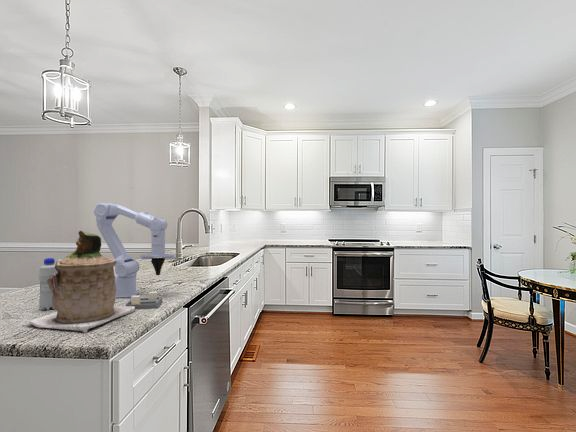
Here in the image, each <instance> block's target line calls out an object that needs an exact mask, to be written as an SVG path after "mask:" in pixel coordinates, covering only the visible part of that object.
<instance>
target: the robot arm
mask: <svg viewBox="0 0 576 432" xmlns="http://www.w3.org/2000/svg"><path fill="white" fill-rule="evenodd" d="M93 214H94V216H95V218H96V220H95V221H96V226H97V230H98V231H99V233H100V235H101V236H102V238H103V239H104V242H105V243H106V245H107V247H108V249H109V250H110V252H111V254H112V256H113V259H115V260H116V261H117V262H116V264H115V265H114V269H115V270H114V273H115V274H116V276H115V285H116V296H115V299H117V298H118V299H119V298H131V297H132V296H136V295H139V294H140V293H139V292H140V291H137V273H138V271H140V264H139V262H138V261H136V260H135V258H134V257H133V255H131V254H128V252H127V250H126V249H125V247H124V245H123V243H122V241H121V239H120V238H119V236H118V233H116V231H115V229H114V226H113V225H112V224H113V223H114V222H115V220H116V219H117V217H118V216H119V215H120V216H124V217H125V218H126V217H127V218H130V219H132V220H135V222H136V224H138V225H140V226H143V227H145V228H148V229H149V230H150V232H151V245H150V246H151V248H150V249H151V250H150V251H151V253H149V254H141V255H140V260H150V263H151V264H152V266H153V269H154V271H155V276H160V275H161V272H162V267H163V265H164V263H165V261H166V260H169V259H170V260H175V259H176V254H175V253H166V229H167V228H168V222H167V220H166V219H164V218H163V217H160V218H158V216H157V215H152V214H149V212H147V211H141V212H136V211H134V210H132V209H130V208H128V207H125V206H123V205H121V204H117V203H116V202H115V203H107V202H99V203H97V204H96V205H95V208H94V210H93Z"/></svg>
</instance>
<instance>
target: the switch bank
mask: <svg viewBox="0 0 576 432" xmlns="http://www.w3.org/2000/svg"><path fill="white" fill-rule="evenodd" d="M162 303H163V296H161V295H160V296H159V297H158V296H157V300H148V297H141V303H140V304H131V299H129V300H128V301H127V302H126V303H125V306H134V307H135V309H134V310H149V309H159V307H160V305H161V304H162Z"/></svg>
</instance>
